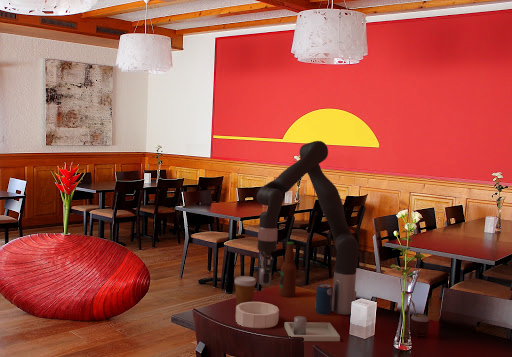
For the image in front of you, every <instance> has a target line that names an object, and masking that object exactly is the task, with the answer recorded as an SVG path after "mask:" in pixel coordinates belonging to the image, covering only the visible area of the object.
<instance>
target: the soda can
mask: <svg viewBox="0 0 512 357" xmlns="http://www.w3.org/2000/svg"><path fill="white" fill-rule="evenodd" d="M332 286H333V285H332V284H330V283H322V282H321V283H318V285H317V287H316V291H315V303H314V304H315V306H314V308H315V310H314V311H315V312H316V314H318V315H320V316H327V315H330V314H331V313H332V312H333V311H332V299H333V287H332Z"/></svg>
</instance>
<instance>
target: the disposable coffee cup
mask: <svg viewBox="0 0 512 357" xmlns="http://www.w3.org/2000/svg"><path fill="white" fill-rule="evenodd" d="M234 285H235V298H236V301H235V302H236V306H237V305H239V304H240V303H245V302H253V299H254V293H255V288H256V285H257V280H256V278H255V277H254V276H247V275H240V276H236V277H235V278H234Z"/></svg>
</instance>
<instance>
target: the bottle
mask: <svg viewBox="0 0 512 357" xmlns="http://www.w3.org/2000/svg"><path fill="white" fill-rule="evenodd" d="M294 244H295V242H293V241H286V250H285V255H284V262H283V264H282V265H281V267H280V280H279V295H280V296H281V297H284V298H293V297H295V295H296V287H297V286H296V285H297V266H296V264H295V253H294V252H295V251H294V246H295V245H294Z"/></svg>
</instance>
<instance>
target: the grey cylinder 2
mask: <svg viewBox="0 0 512 357" xmlns="http://www.w3.org/2000/svg"><path fill="white" fill-rule="evenodd" d="M293 320H294V321H293V322H294V335H306V322H307V320H308V319H307V317H305V316H301V315H297V316H294V319H293Z"/></svg>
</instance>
